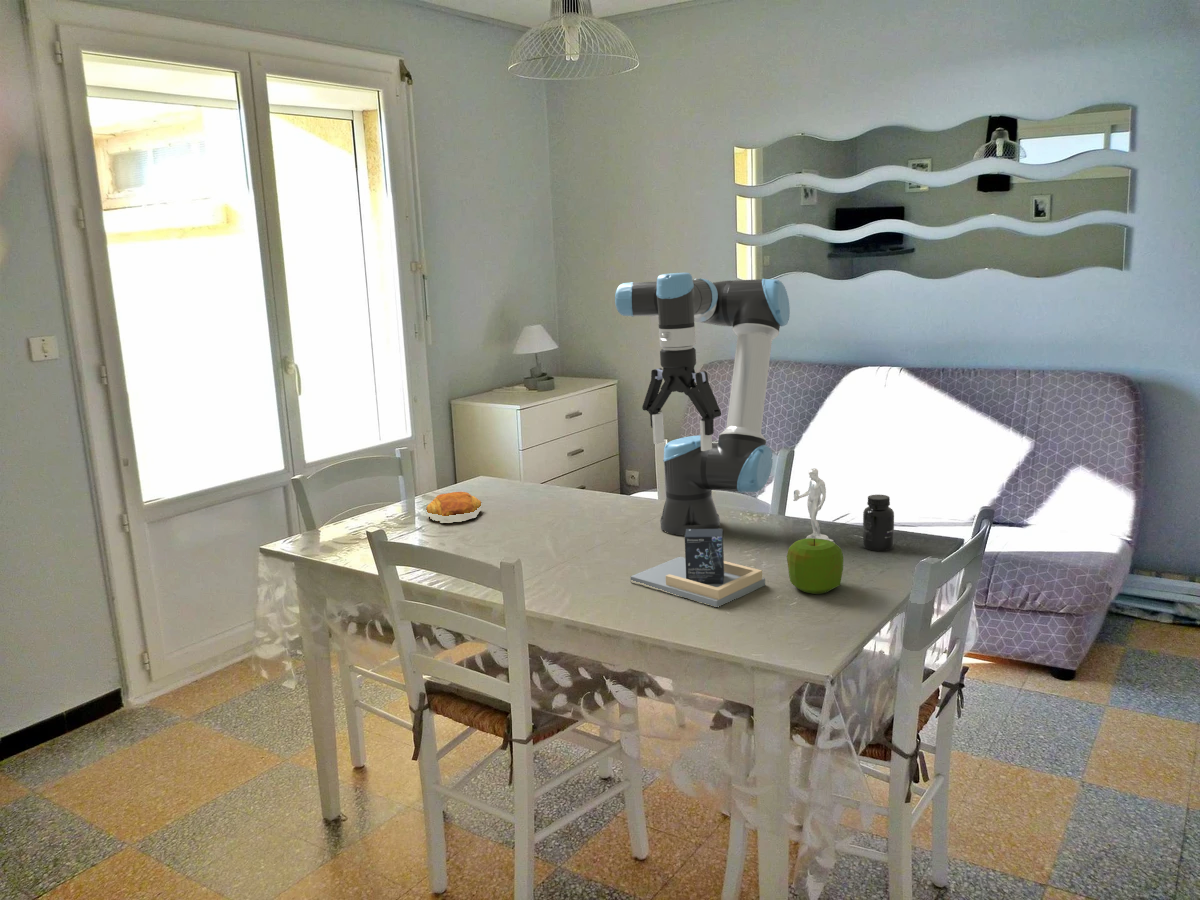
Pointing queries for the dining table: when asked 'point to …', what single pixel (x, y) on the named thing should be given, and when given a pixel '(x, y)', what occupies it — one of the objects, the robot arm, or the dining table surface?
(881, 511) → the supplement bottle
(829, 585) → the apple
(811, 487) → the figurine
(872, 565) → the dining table surface
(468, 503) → the croissant
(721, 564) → the box
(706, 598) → the dock
